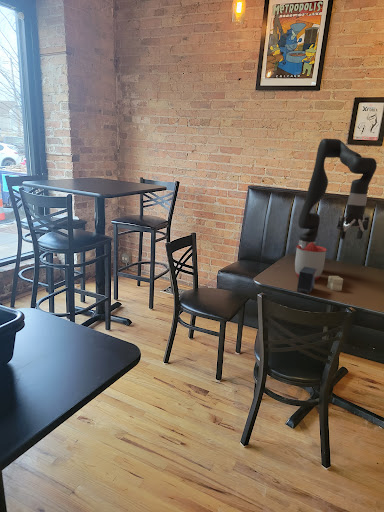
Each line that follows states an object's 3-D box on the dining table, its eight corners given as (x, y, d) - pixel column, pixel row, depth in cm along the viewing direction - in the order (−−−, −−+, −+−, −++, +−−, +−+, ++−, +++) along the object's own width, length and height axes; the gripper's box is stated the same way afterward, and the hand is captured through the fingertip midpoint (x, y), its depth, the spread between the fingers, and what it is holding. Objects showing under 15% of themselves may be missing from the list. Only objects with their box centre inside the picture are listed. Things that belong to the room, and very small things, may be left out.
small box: (309, 294, 171) (312, 273, 168) (296, 291, 174) (298, 271, 172) (314, 288, 180) (317, 268, 177) (301, 285, 183) (304, 266, 180)
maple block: (327, 287, 183) (328, 275, 181) (336, 287, 184) (338, 276, 182) (331, 290, 178) (333, 279, 177) (341, 290, 179) (343, 279, 177)
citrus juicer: (308, 271, 208) (313, 238, 203) (328, 281, 192) (334, 245, 187) (285, 273, 203) (289, 238, 198) (303, 283, 187) (308, 246, 182)
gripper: (364, 202, 165) (358, 237, 169) (337, 202, 162) (332, 237, 166) (376, 205, 158) (369, 240, 162) (347, 204, 155) (341, 241, 159)
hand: (350, 239), depth 164 cm, fingers open, 8 cm apart
